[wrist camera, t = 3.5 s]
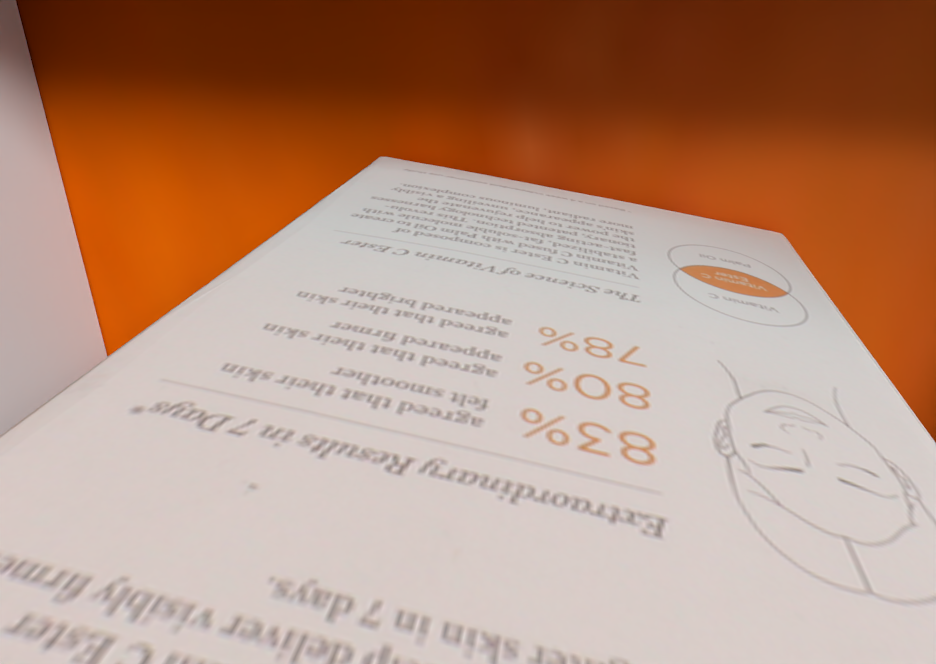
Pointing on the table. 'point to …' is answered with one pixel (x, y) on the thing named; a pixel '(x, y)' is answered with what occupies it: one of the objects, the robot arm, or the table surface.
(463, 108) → the table surface
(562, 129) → the table surface
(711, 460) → the small box
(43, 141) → the bin
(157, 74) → the table surface
